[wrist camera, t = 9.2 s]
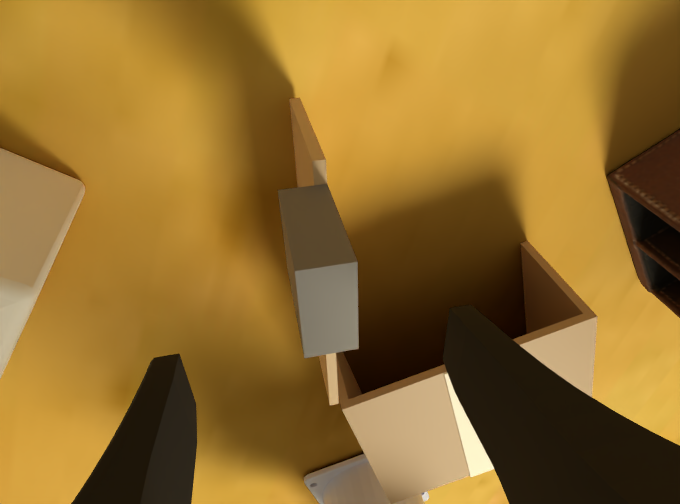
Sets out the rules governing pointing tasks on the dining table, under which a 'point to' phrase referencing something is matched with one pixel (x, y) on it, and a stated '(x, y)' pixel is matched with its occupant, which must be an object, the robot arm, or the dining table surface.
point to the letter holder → (653, 217)
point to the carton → (442, 403)
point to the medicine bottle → (29, 237)
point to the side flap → (318, 257)
